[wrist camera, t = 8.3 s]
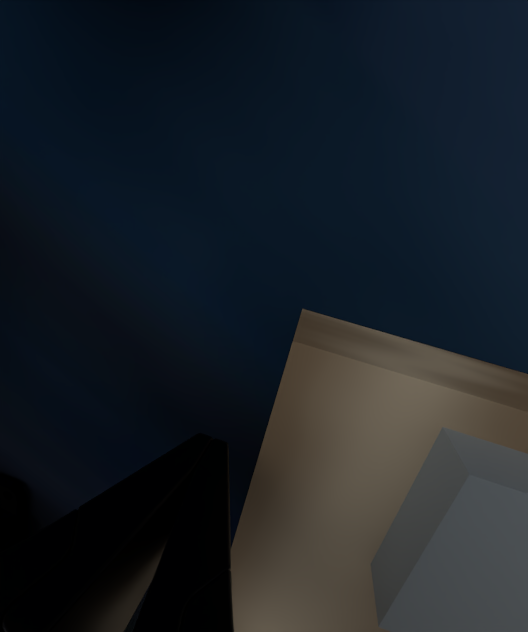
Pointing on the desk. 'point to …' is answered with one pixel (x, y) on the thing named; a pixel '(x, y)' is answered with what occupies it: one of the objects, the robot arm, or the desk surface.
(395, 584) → the slate grey block
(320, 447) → the birch plate
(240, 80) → the desk surface
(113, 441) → the desk surface
